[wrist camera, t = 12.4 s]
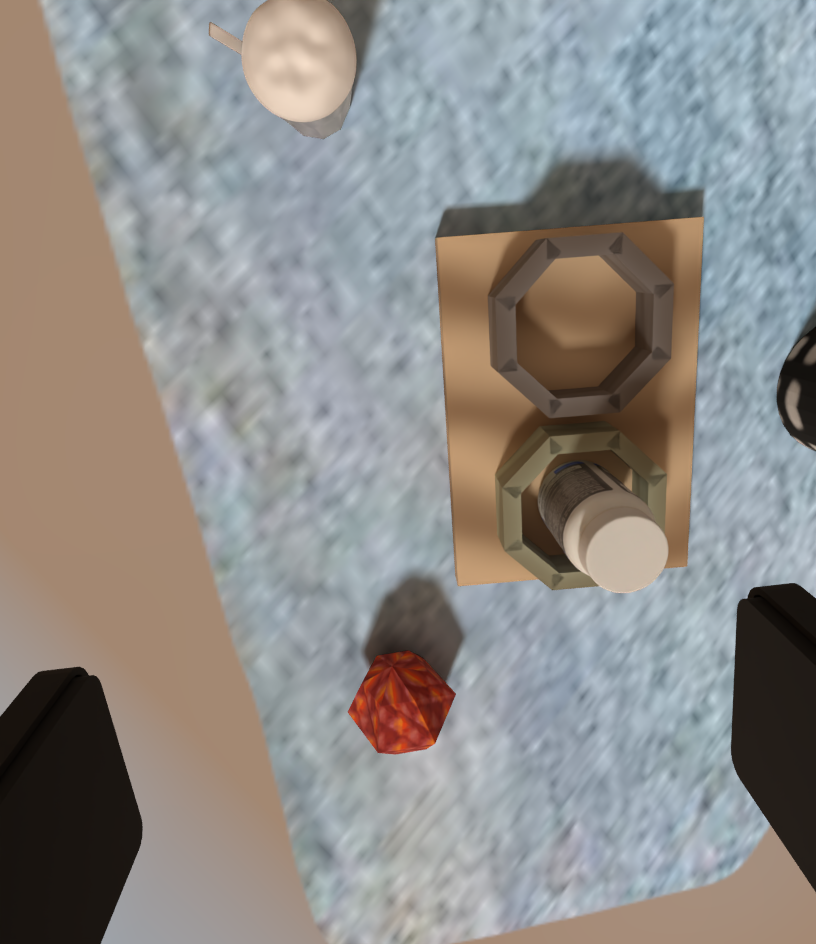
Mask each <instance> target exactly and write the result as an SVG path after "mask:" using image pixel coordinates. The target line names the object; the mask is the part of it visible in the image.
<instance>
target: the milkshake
mask: <svg viewBox="0 0 816 944" xmlns="http://www.w3.org/2000/svg"><path fill="white" fill-rule="evenodd" d="M209 36H210V37H212V38H214V39H215V40H217V41H219V42H220V43H222V44H224V45H225V46H227V47H229V48H231V49H232V50H234V51H236V52H237V53H239V54H241V55H242V65H243V71H244V75H245V78H246V80H247V83H248V85H249V87H250V89H251V91H252V92H253V94H254V95H255V97H256V98H257V99H258V100H259V101H260V103H261V104H262V105H263V106H264V107H266V108H267V109H268V110H269V111H270V112H272V113H273V114H275V115H277V116H278V117H280V118H281V119H283V120H285V121H286V122H287V123H289V124H290V125H291V126H292V127H293V128H295V129H296V130H297V131H298V132H299V133H301V134H302V135H303V136H306V137H313V138H318V139H325V138H327V137H329V136H330V135H332V134H334V133H335V132H337V131H339V130H341V128H342V126H343V123H344V121H345V118H346V116H347V114H348V112H349V109H350V101H351V93H352V87H353V83H354V79H355V74H356V65H357V58H356V49H355V44H354V40H353V37H352V34H351V31H350V29H349V27H348V25H347V23H346V21H345V20H344V18H343V16H342V15H341V14H340V12H339V11H338V10H337V9H336V8H335V7H334V6H333V5H332V4H331V3H330V2H328V1H327V0H268V1H266V2H264V3H263V4H262V5H260V6H259V7H258V8H257V9H256V10H255V11H254V12H253V14H252V15H251V17H250V19H249V21H248V23H247V26H246V29H245V32H244V36H243V41H241V40H239V39H238V38H236V37H234V36H233V35H231V34H230V33H228V32H226V31H225V30H223V29H222V28H220V27H218V26H217V25H215V24H213V23H212V22H210V23H209Z"/></svg>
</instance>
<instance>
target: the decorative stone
mask: <svg viewBox="0 0 816 944" xmlns="http://www.w3.org/2000/svg"><path fill="white" fill-rule="evenodd" d="M455 695H456V693H455V692H454V691H453V690H452V689H451V688H450V687H449V686H448V685H447V684H446V682H445V681H444V680H443V679H442V678H441V677H440V676H439V675H438V674H437V673H436V672H435V671H434V669H433V668H432V667H431V666H430V665H429V664H428V663H427V662H426V661H425V660H424V659H423V658H422V657H420V656H418V655H416V654H414V653H412V652H411V651H409V650H408V651H402V652H396V653H390V654H384V655H378V656H376V658H375V660H374V662H373V664H372V665H371V667H370V669H369V671H368V673H367V675H366V677H365V678H364V680H363V682H362V684H361V686H360V688H359V690H358V692H357V694H356V696H355V698H354V700H353V702H352V704H351V706H350V708H349V711H348V713H349V715H350V716H351V717H352V719H353V720H354V721H355V723H356V724H357V725H358V727H359V728H360V729H361V731H362V732H363V733H364V735H365V736H366V737H367V739H368V740H369V741H370V743H371V744H372V745H373V747H374V748H375V750H376V751H377V752H378V753H385V754H400V753H406V752H412V751H418V750H424V749H427V748H429V747H430V746H432V745H433V744H435V743H436V740H437V738H438V735H439V733H440V731H441V728H442V726H443V724H444V721H445V719H446V716H447V714H448V712H449V709H450V707H451V705H452V702H453V700H454V697H455Z"/></svg>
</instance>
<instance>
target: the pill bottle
mask: <svg viewBox="0 0 816 944" xmlns="http://www.w3.org/2000/svg"><path fill="white" fill-rule="evenodd" d="M538 509H539V513H540V515H541V518H542V520H543V521H544V523H545V524H546V526H547V527H548V529H549V530H550V532H551V533H552V534H553V536H554V538H555V539H556V541H557V542H558V543H559V545H560V546H561V548H562V549H563V551H564V552H565V554H566V556H567V557H568V559H569V560H570V561H571V562H572V564H573V565H574V566H575V567H576V568H577V569H579V570H580V571H581V572H583V573H585V574H587V575H589V576H590V577H591V578H592V579H593V581H594V582H595V583H596V584H598V585H599V586H600V587H602V588H604V589H606V590H608V591H611V592H616V593H630V592H634V591H637V590H640V589H642V588H644V587H646V586H648V585H649V584H651V583H652V582H653V581H654V580H655V579H656V578H657V577H658V576H659V575H660V573H661V572H662V570H663V569H664V567H665V565H666V562H667V558H668V542H667V538H666V536H665V534H664V532H663V530H662V529H661V527H660V526H659V525H658V524H657V523H656V521H655V518H654V515H653V513H652V511H651V510H650V508H649V507H648V506H647V505H646V504H645V503H644V501H643V500H641V499H640V498H639V497H638V496H637V495H635V494H634V493H633V492H632V491H631V490H629V489H628V488H627V487H626V486H625V485H624V484H623V483H622V482H621V481H619V480H618V479H617V478H616V477H614V476H613V475H612V474H611V473H610V472H609V471H608V470H606V469H605V468H604V467H602V466H600V465H599V464H596V463H594V462H590V461H585V460H575V461H570V462H567V463H563V464H561V465H559V466H558V467H556V468H555V469H554V470H552V471H551V472H550V473H549V474H548V475H547V476H546V478H545V479H544V481H543V483H542V485H541V487H540V490H539V494H538Z"/></svg>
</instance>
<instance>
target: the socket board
mask: <svg viewBox="0 0 816 944" xmlns="http://www.w3.org/2000/svg"><path fill="white" fill-rule="evenodd" d="M703 222H704V217H696V218H683V219H670V220H657V221H645V222H632V223H619V224H606V225H593V226H581V227H568V228H555V229H542V230H529V231H516V232H504V233H491V234H478V235H465V236H452V237H440V238H436V239H435V246H436V262H437V279H438V295H439V312H440V328H441V345H442V362H443V378H444V395H445V411H446V428H447V444H448V461H449V478H450V494H451V511H452V527H453V544H454V560H455V576H456V580H457V584H458V586H466V585H478V584H489V583H501V582H513V581H524V580H536V579H539V580H540V581H542V582H543V583H544V584H545V585H547V586H548V587H549V588H550V589H551V590H560V589H571V588H583V587H594V586H599V585H598V584H596V583H595V582H594V581H593V579H592V578H591V577H590V576H589V575H587V574H585V573H583V572H581V571H580V570H579V569H577V568H576V567H575V566H574V565H573V564H572V562H571V561H570V560H569V559H568V557H567V556H566V554H565V552H564V551H563V549H562V548H561V546H560V545H559V543H558V542H557V541H556V539H555V538H554V536H553V534H552V533H551V532H550V530H549V529H548V527H547V526H546V524H545V523H544V521H543V520H542V518H541V515H540V513H539V509H538V494H539V490H540V487H541V485H542V483H543V481H544V479H545V478H546V476H547V475H548V474H549V473H550V472H551V471H552V470H554V469H555V468H556V467H558V466H559V465H561V464H563V463H567V462H570V461H575V460H585V461H590V462H594V463H596V464H599V465H600V466H602V467H604V468H605V469H606V470H608V471H609V472H610V473H611V474H612V475H613V476H614V477H616V478H617V479H618V480H619V481H621V482H622V483H623V484H624V485H625V486H626V487H627V488H628V489H629V490H631V491H632V492H633V493H634V494H635V495H637V496H638V497H639V498H640V499H641V500H643V501H644V503H645V504H646V505H647V506H648V507H649V508H650V510H651V511H652V513H653V515H654V518H655V521H656V523H657V524H658V525H659V526H660V527H661V529H662V530H663V532H664V534H665V536H666V538H667V542H668V558H667V562H666V565H665V567H664V568H674V567H686V566H687V560H688V539H689V517H690V496H691V475H692V454H693V433H694V412H695V391H696V370H697V349H698V328H699V306H700V285H701V264H702V243H703Z"/></svg>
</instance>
